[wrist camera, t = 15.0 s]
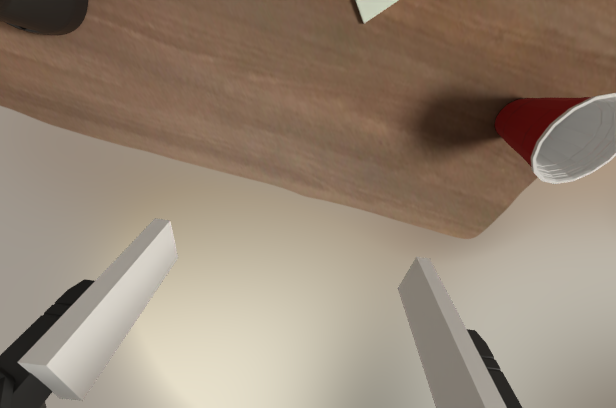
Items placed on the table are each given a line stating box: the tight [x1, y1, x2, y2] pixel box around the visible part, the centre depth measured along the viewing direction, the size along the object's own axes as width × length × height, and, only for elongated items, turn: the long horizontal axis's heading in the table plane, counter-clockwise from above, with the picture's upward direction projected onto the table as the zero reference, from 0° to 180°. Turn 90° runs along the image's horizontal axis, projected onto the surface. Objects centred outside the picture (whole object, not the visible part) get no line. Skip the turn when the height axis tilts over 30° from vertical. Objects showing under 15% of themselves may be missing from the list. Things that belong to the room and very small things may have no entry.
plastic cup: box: [495, 93, 616, 184], centre depth 32 cm, size 11×11×12 cm
